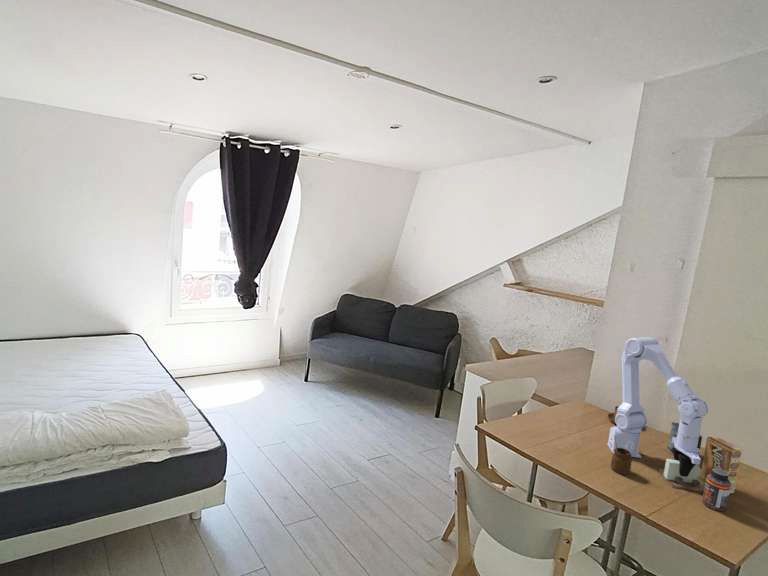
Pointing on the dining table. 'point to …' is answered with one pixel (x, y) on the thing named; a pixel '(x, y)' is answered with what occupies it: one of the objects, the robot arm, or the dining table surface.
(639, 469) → the dining table surface
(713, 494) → the supplement bottle
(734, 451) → the candy box
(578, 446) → the dining table surface
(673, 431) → the small box
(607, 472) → the dining table surface
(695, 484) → the side panel
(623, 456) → the utensil holder
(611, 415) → the cup and saucer
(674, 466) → the door
